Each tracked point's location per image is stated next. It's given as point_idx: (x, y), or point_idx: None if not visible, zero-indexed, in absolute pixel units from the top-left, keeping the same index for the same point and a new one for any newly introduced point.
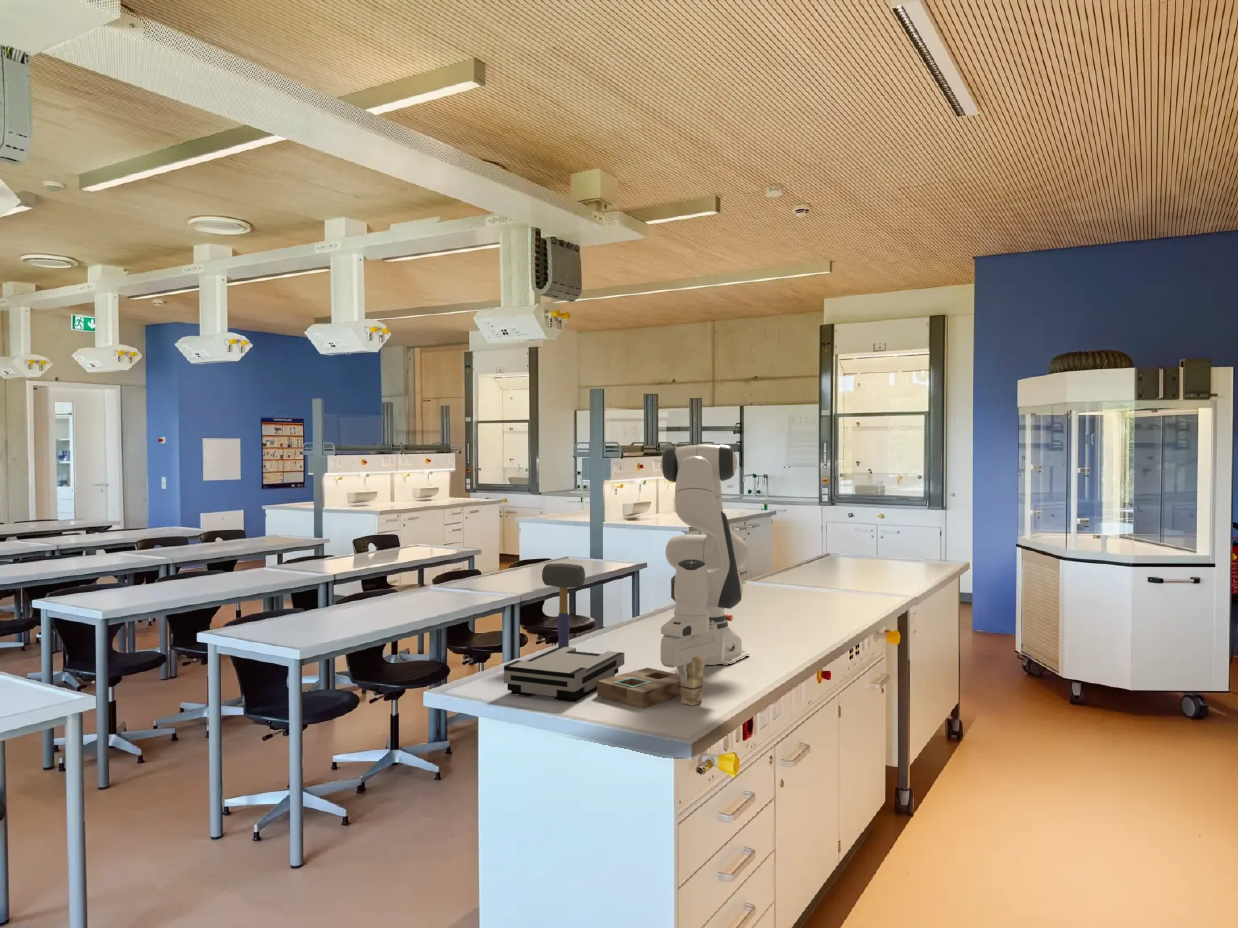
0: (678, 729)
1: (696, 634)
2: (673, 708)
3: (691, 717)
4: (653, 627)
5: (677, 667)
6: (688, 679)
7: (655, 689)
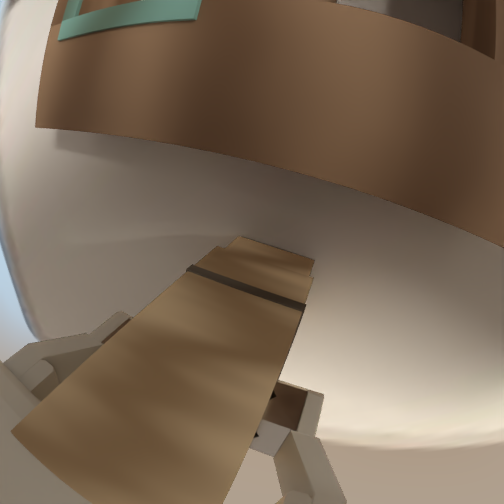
0: (51, 310)
1: None
2: (151, 233)
3: None
4: None
5: (29, 346)
6: None
7: (100, 132)
